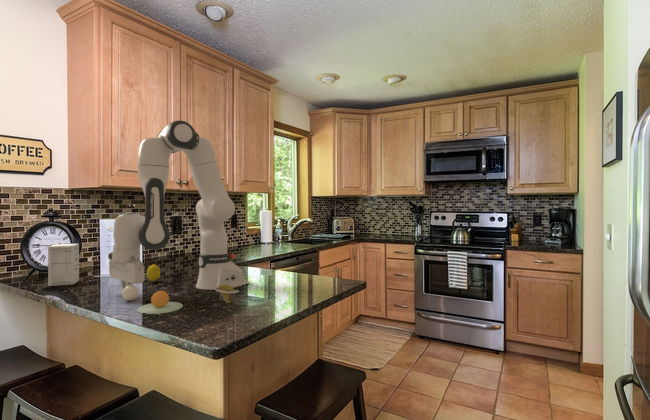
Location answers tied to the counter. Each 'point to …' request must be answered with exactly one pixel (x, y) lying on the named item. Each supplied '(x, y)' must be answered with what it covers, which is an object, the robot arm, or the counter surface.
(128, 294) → the cue ball
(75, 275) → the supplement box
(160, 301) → the object ball
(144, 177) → the robot arm
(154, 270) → the lemon
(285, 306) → the counter surface
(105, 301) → the counter surface
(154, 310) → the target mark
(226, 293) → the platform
